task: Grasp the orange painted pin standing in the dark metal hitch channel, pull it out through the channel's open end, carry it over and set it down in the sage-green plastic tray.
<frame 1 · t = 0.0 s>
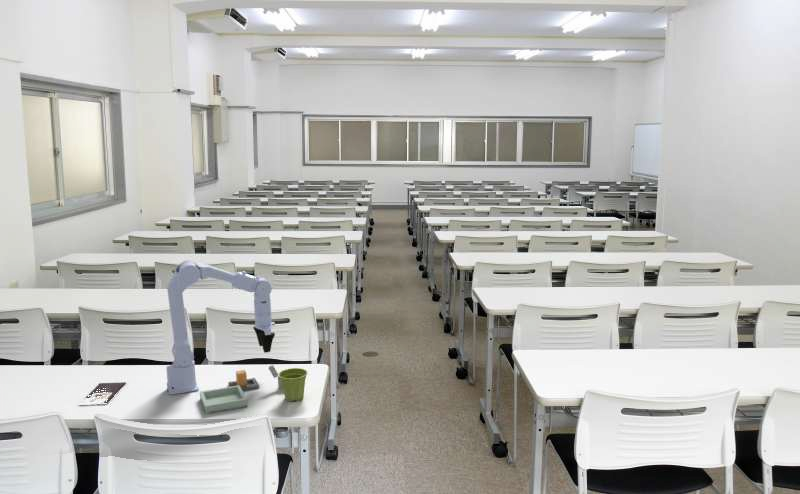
hand: (264, 348, 245), 10 cm above the table, fingers open, 7 cm apart
pin: (241, 379, 237), in the hitch
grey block: (280, 387, 236), on the table
tray: (223, 402, 224), on the table
hitch: (241, 387, 237), on the table
plant pot: (294, 398, 227), on the table
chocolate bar: (103, 396, 233), on the table
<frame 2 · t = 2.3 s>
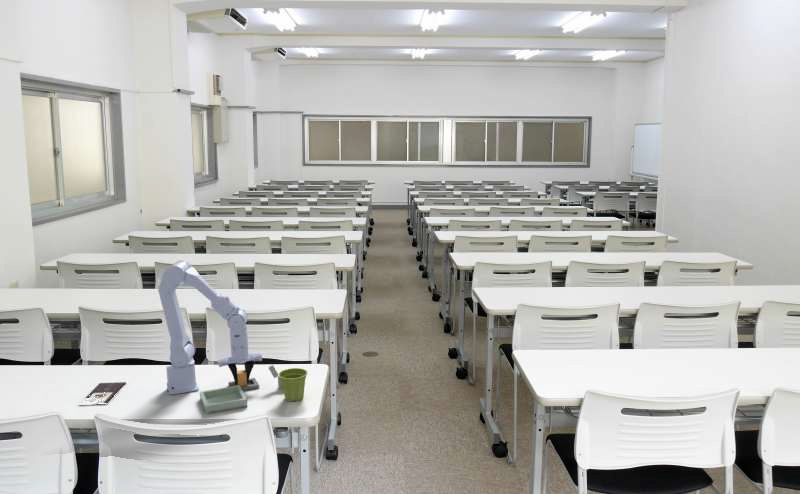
hand: (241, 383, 237), 1 cm above the table, fingers closed on pin, 3 cm apart
pin: (241, 379, 237), in the hitch, touching gripper
everything else where it was.
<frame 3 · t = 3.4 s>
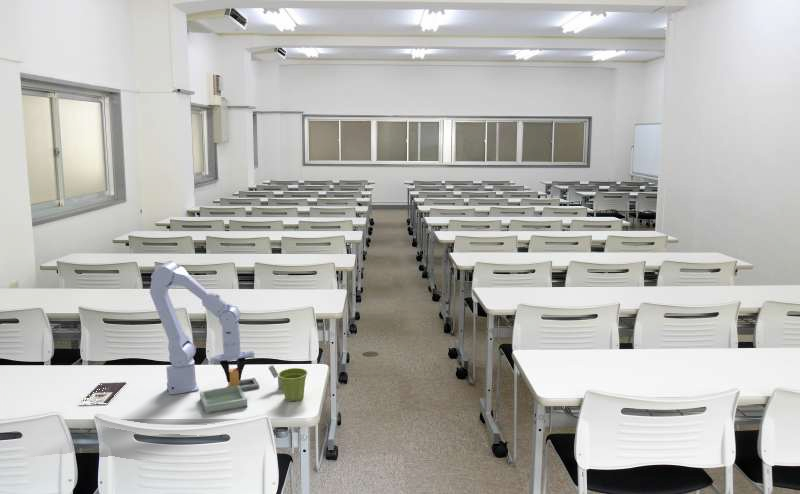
hand: (233, 380, 236), 3 cm above the table, fingers closed on pin, 3 cm apart
pin: (233, 377, 235), point 4 cm above the table, touching gripper
everything else where it was.
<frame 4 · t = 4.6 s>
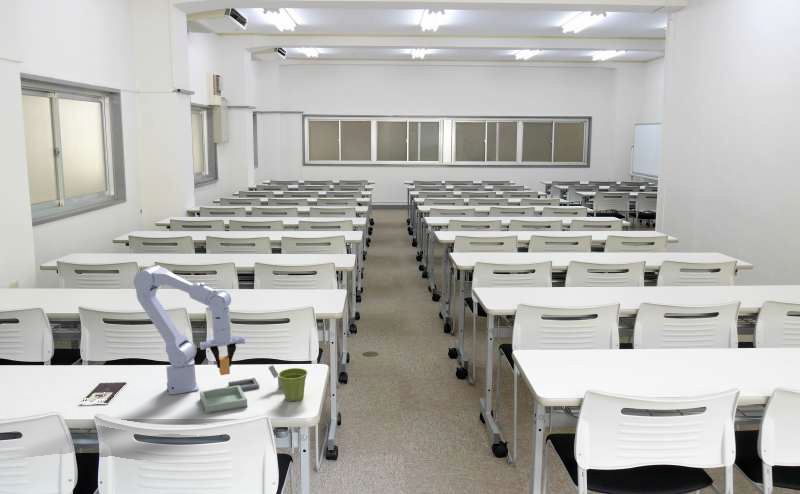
hand: (224, 366, 233), 8 cm above the table, fingers closed on pin, 3 cm apart
pin: (224, 365, 233), point 9 cm above the table, touching gripper
everything else where it was.
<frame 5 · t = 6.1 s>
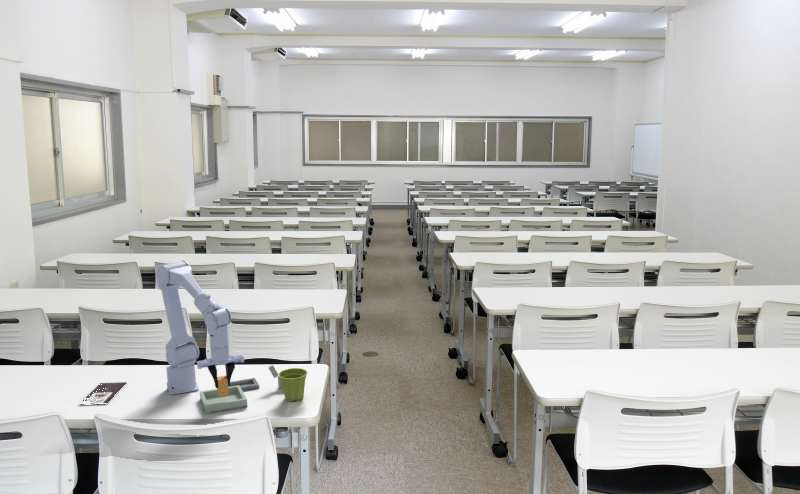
hand: (222, 386, 223), 6 cm above the table, fingers closed on pin, 3 cm apart
pin: (222, 385, 223), point 6 cm above the table, touching gripper
everything else where it was.
when the fingers open (3 cm above the table, at t = 6.9 s): pin stays where it is, resting on tray.
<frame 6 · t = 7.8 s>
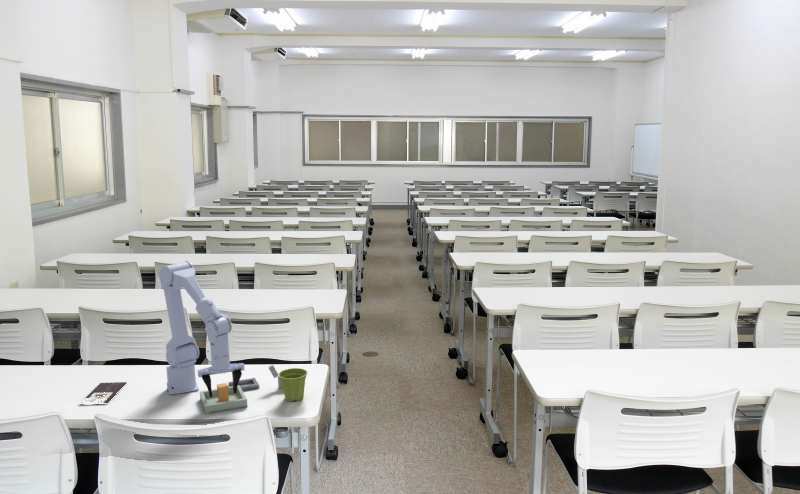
hand: (222, 394, 224), 3 cm above the table, fingers open, 7 cm apart
pin: (222, 393, 223), in the tray, point 3 cm above the table
everything else where it was.
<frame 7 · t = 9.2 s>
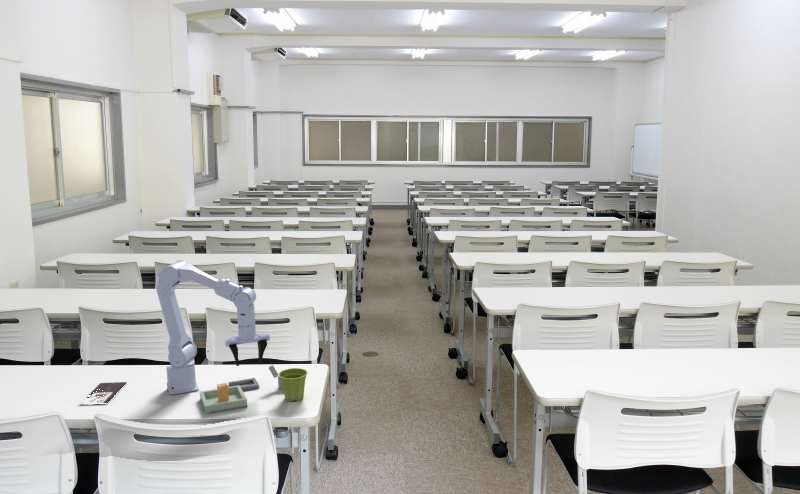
hand: (248, 363, 231), 10 cm above the table, fingers open, 7 cm apart
nothing on the table moved.
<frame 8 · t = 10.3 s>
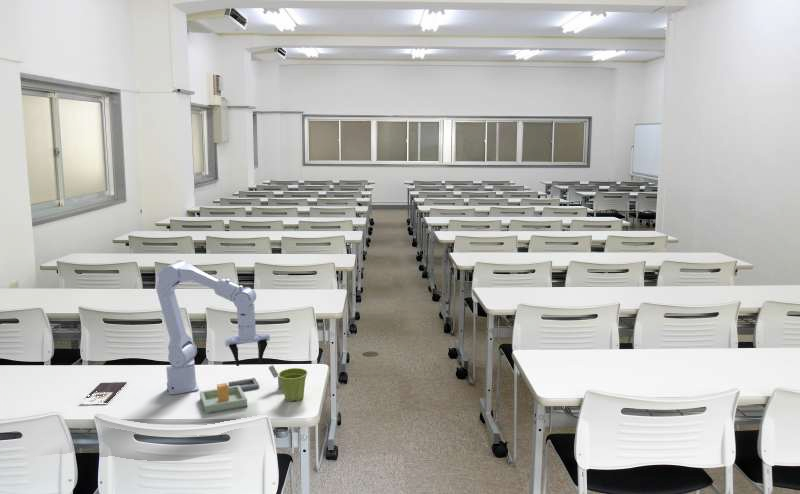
hand: (248, 363, 231), 10 cm above the table, fingers open, 7 cm apart
nothing on the table moved.
at the end: pin inside the target area on the tray (0.1 cm from its centre), point 3.3 cm above the tray's base; the gripper is holding nothing; pin moved 13.7 cm from its start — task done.
